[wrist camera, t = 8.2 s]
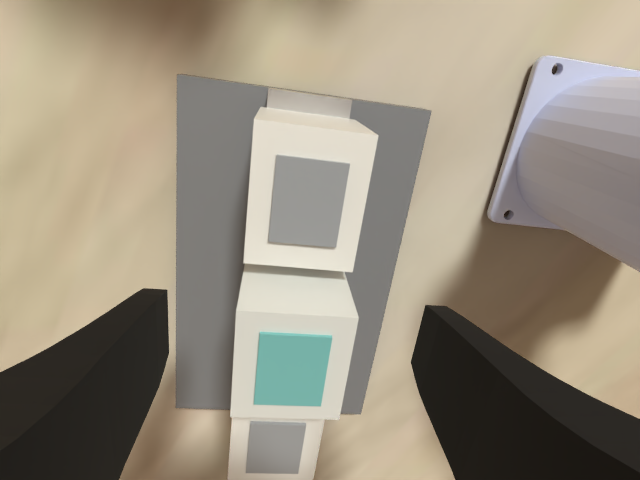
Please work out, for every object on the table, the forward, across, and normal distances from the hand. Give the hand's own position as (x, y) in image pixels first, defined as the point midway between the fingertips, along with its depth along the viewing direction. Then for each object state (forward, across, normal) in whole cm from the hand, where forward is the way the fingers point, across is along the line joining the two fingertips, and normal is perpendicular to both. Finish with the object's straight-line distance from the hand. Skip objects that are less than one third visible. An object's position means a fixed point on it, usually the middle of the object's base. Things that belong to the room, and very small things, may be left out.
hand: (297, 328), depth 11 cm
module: (+8, 0, +3) cm, 9 cm away
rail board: (+10, 0, +3) cm, 10 cm away
